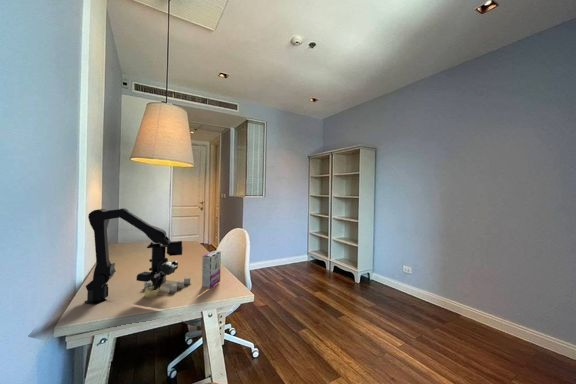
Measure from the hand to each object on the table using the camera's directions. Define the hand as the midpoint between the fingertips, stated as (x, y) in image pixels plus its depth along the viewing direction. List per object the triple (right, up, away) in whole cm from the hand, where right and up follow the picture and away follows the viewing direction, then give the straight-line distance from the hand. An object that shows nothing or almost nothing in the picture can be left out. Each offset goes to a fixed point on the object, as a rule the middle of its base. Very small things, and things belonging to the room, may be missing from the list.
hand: (157, 289), depth 110 cm
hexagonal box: (-1, -1, -4) cm, 4 cm away
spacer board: (+1, -2, +3) cm, 4 cm away
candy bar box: (+21, -3, +13) cm, 25 cm away
